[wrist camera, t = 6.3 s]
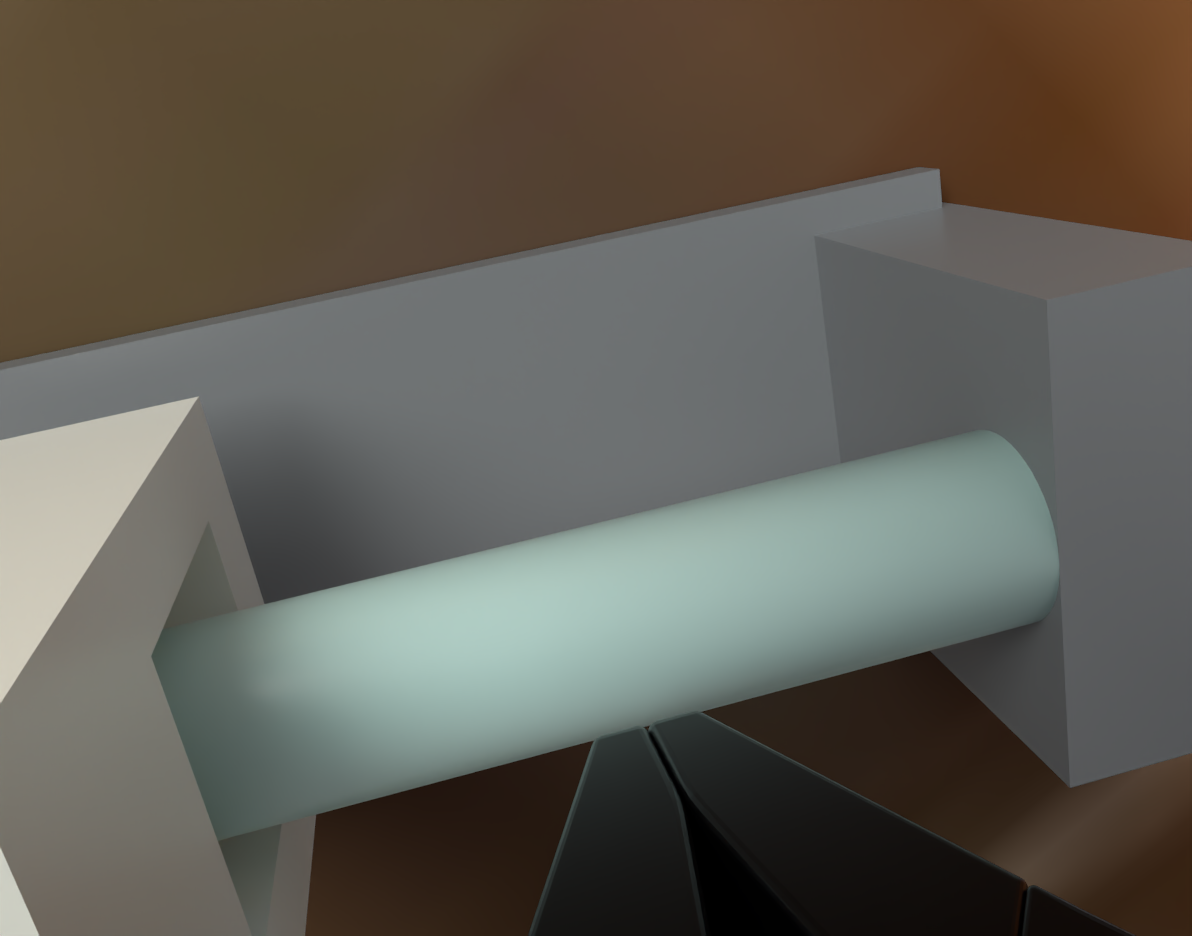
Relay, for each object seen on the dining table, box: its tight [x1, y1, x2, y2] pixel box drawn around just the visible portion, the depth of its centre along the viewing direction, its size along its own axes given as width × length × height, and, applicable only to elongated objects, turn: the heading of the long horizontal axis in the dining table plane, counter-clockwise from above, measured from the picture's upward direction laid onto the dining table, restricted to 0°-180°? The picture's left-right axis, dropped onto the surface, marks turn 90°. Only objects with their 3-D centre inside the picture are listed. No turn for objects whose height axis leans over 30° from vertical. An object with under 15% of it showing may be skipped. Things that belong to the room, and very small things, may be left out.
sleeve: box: [0, 396, 316, 936], centre depth 9 cm, size 3×5×7 cm, turn 11°
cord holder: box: [0, 167, 1192, 841], centre depth 12 cm, size 19×6×7 cm, turn 101°
